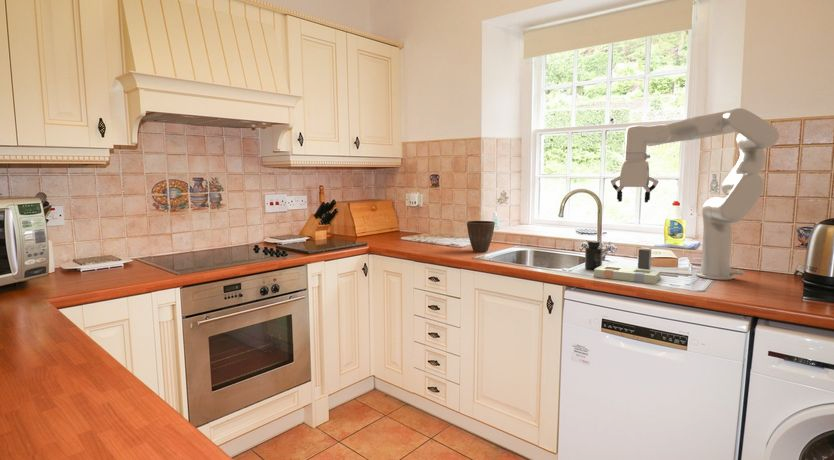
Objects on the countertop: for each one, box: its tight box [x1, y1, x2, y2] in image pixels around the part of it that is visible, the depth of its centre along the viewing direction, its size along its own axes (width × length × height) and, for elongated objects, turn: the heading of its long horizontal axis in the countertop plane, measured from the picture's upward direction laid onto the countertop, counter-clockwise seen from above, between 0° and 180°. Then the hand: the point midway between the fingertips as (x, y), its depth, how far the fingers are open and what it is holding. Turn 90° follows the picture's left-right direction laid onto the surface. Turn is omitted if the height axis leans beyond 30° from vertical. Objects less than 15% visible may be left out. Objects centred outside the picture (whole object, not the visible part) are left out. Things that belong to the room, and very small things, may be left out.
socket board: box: [593, 264, 662, 285], centre depth 187 cm, size 22×12×3 cm, turn 54°
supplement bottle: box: [584, 240, 603, 271], centre depth 204 cm, size 7×7×12 cm
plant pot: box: [466, 220, 496, 253], centre depth 253 cm, size 15×15×16 cm
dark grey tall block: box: [637, 247, 652, 270], centre depth 194 cm, size 4×4×11 cm
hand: (632, 201), depth 187 cm, fingers open, 9 cm apart
